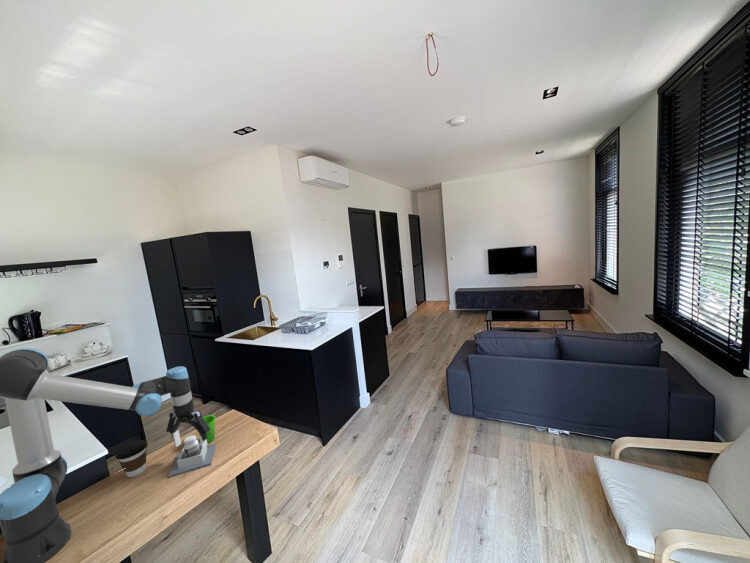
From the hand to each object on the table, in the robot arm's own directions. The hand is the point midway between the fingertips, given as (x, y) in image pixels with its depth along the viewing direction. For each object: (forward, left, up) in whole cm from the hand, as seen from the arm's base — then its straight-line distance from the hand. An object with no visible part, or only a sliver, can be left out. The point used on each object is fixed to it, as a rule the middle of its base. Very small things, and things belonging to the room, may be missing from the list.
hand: (191, 446), depth 134 cm
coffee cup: (-23, +4, -7) cm, 24 cm away
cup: (+4, +13, -7) cm, 15 cm away
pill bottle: (0, 0, -6) cm, 6 cm away
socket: (0, 0, -7) cm, 7 cm away
